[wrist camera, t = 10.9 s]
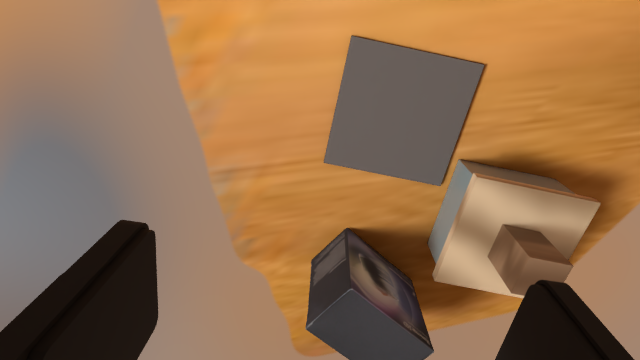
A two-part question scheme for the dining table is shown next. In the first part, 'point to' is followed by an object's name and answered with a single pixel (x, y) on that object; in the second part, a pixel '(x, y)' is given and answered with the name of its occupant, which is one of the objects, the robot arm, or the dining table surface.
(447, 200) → the open box
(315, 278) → the small box
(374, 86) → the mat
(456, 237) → the lid
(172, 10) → the dining table surface
